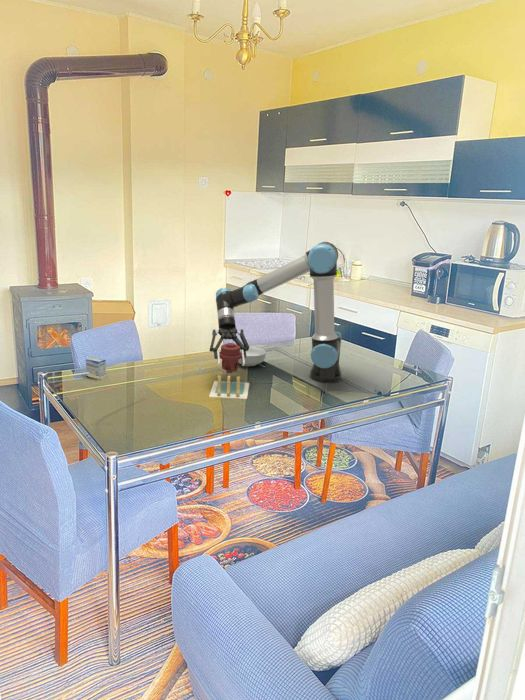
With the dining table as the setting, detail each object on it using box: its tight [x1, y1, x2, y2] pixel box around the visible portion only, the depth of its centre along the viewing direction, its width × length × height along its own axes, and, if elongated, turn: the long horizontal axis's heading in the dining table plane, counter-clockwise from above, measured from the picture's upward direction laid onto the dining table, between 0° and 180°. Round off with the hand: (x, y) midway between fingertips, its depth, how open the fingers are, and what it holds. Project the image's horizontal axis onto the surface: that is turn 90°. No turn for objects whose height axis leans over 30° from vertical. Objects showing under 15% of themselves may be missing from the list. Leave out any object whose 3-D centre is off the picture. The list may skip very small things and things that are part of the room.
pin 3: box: [236, 375, 241, 397], centre depth 215 cm, size 1×1×9 cm
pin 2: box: [226, 374, 231, 397], centre depth 215 cm, size 1×1×9 cm
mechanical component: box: [219, 342, 242, 375], centre depth 222 cm, size 12×10×10 cm
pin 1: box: [217, 374, 222, 396], centre depth 215 cm, size 1×1×9 cm
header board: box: [208, 380, 250, 400], centre depth 224 cm, size 16×19×1 cm
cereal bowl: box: [238, 346, 267, 367], centre depth 260 cm, size 17×17×7 cm
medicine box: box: [85, 356, 107, 377], centre depth 233 cm, size 8×4×9 cm, turn 68°
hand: (231, 364), depth 220 cm, fingers closed on mechanical component, 10 cm apart
